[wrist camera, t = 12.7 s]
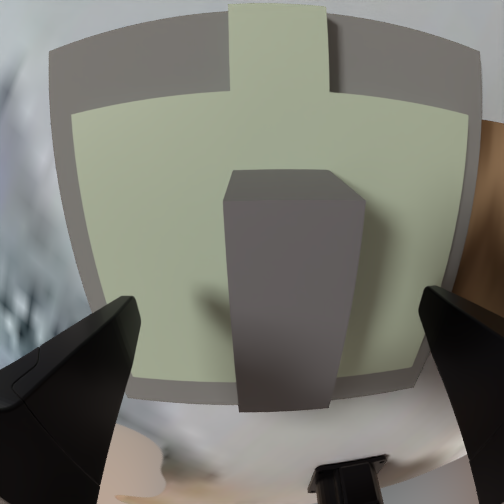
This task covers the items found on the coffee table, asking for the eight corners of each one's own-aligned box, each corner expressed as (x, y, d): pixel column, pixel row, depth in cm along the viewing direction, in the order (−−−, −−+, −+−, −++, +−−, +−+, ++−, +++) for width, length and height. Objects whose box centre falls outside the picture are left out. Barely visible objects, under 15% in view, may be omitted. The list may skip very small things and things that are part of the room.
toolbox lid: (406, 356, 14) (436, 418, 10) (137, 365, 14) (113, 433, 10) (454, 43, 8) (529, 32, 4) (81, 39, 8) (6, 20, 4)
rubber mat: (410, 380, 16) (413, 387, 15) (130, 390, 16) (127, 397, 16) (471, 52, 8) (479, 51, 8) (57, 53, 8) (49, 51, 8)
